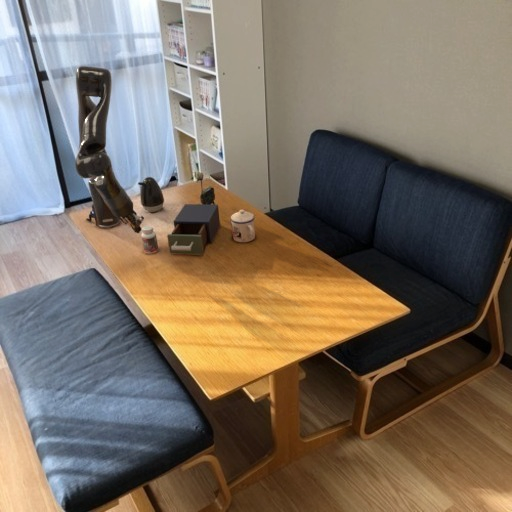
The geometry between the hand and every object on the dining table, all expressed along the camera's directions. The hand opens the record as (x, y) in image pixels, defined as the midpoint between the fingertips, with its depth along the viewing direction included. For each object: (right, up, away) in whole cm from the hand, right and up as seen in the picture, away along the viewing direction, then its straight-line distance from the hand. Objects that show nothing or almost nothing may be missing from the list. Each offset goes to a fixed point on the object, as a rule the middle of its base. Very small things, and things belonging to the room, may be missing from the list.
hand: (138, 231), depth 183 cm
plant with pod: (+20, +9, +38) cm, 44 cm away
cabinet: (+19, 0, +21) cm, 29 cm away
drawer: (+17, -6, +10) cm, 20 cm away
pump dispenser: (-3, +11, +45) cm, 46 cm away
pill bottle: (+2, -7, +11) cm, 14 cm away
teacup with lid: (+38, -3, +15) cm, 41 cm away
